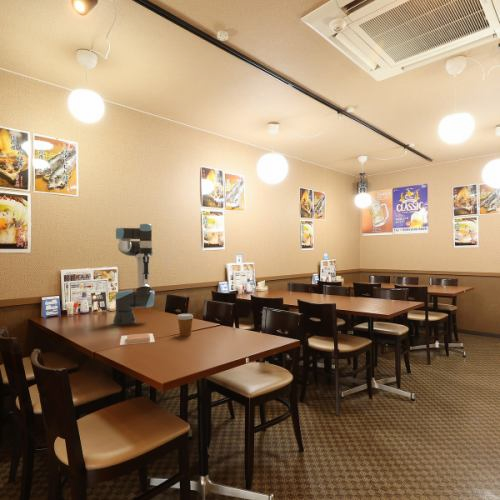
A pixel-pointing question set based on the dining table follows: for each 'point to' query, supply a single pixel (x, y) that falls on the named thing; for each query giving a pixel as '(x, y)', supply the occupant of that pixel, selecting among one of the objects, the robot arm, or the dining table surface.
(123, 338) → the mat
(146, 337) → the tile
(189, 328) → the disposable coffee cup
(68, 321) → the dining table surface
